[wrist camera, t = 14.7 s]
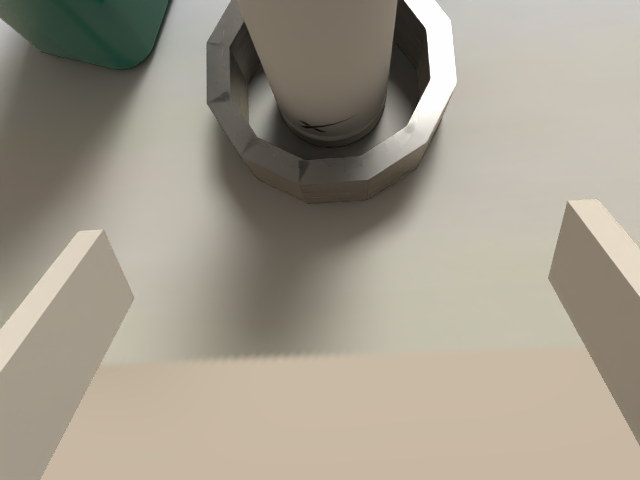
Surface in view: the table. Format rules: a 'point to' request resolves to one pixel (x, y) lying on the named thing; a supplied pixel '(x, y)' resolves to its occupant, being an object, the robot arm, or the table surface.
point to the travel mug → (325, 63)
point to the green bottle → (88, 28)
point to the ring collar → (346, 172)
